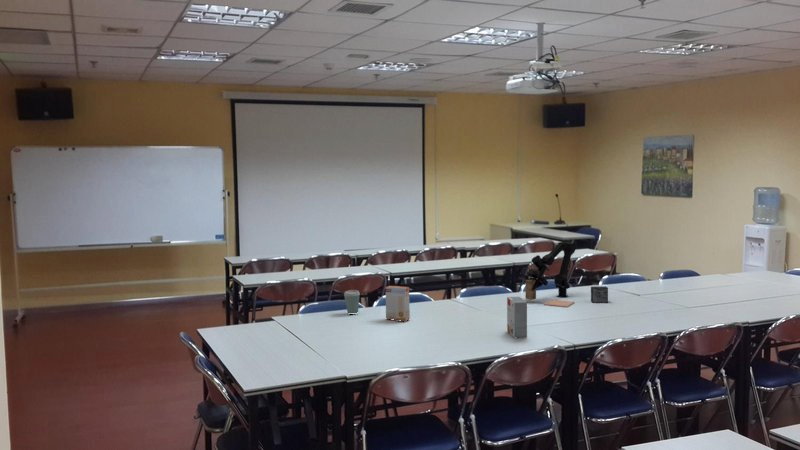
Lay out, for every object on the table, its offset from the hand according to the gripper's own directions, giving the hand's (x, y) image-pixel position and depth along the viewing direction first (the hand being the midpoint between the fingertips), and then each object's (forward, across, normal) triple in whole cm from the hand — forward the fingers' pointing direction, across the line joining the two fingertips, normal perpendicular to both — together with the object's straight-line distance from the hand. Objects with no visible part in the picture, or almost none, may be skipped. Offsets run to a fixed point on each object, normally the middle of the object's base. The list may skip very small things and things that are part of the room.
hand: (529, 289), depth 444 cm
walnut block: (+4, 0, +6) cm, 7 cm away
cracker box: (+76, -17, -64) cm, 101 cm away
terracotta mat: (-2, +16, +15) cm, 22 cm away
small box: (-20, +29, +34) cm, 49 cm away
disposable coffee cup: (+85, -50, -73) cm, 123 cm away
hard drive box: (+55, +53, -42) cm, 87 cm away
